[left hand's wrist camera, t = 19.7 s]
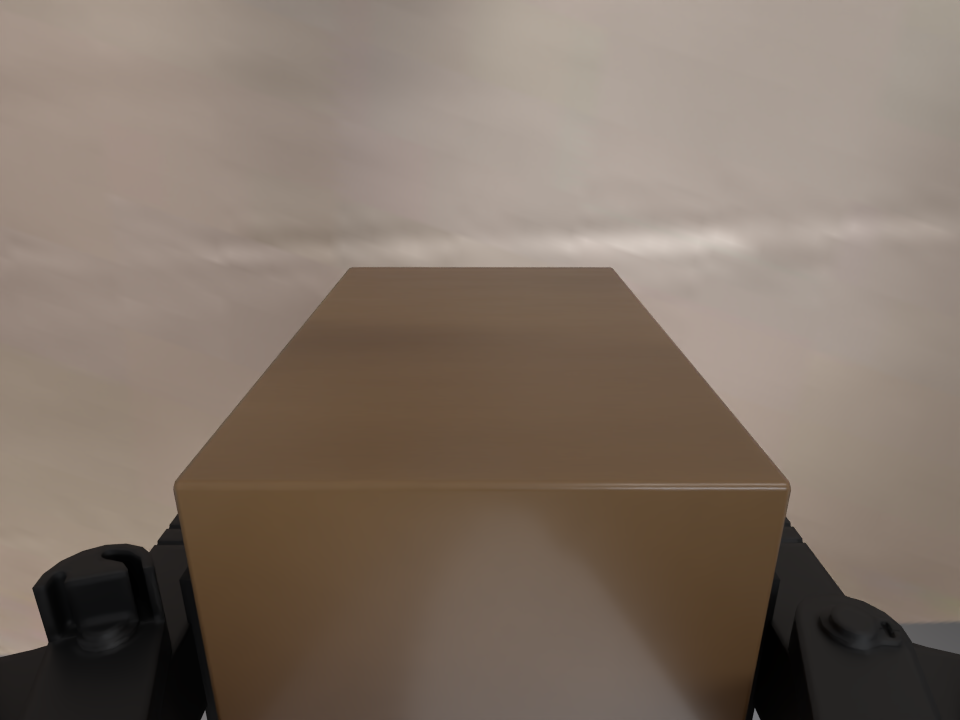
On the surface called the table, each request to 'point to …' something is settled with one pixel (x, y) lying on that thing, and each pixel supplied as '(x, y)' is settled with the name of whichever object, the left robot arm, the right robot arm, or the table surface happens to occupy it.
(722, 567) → the brick
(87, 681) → the left robot arm
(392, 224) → the table surface
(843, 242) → the table surface
